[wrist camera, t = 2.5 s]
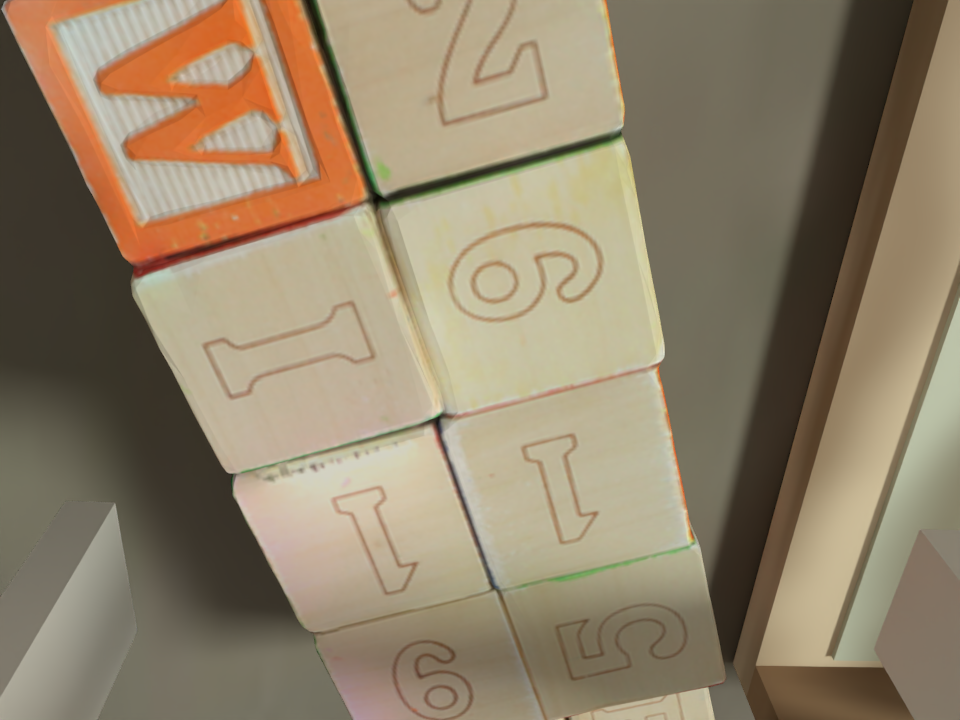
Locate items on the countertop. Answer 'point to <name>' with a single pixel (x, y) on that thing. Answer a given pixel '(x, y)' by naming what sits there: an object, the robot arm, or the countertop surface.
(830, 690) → the cradle
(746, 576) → the countertop surface
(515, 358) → the stack of blocks
